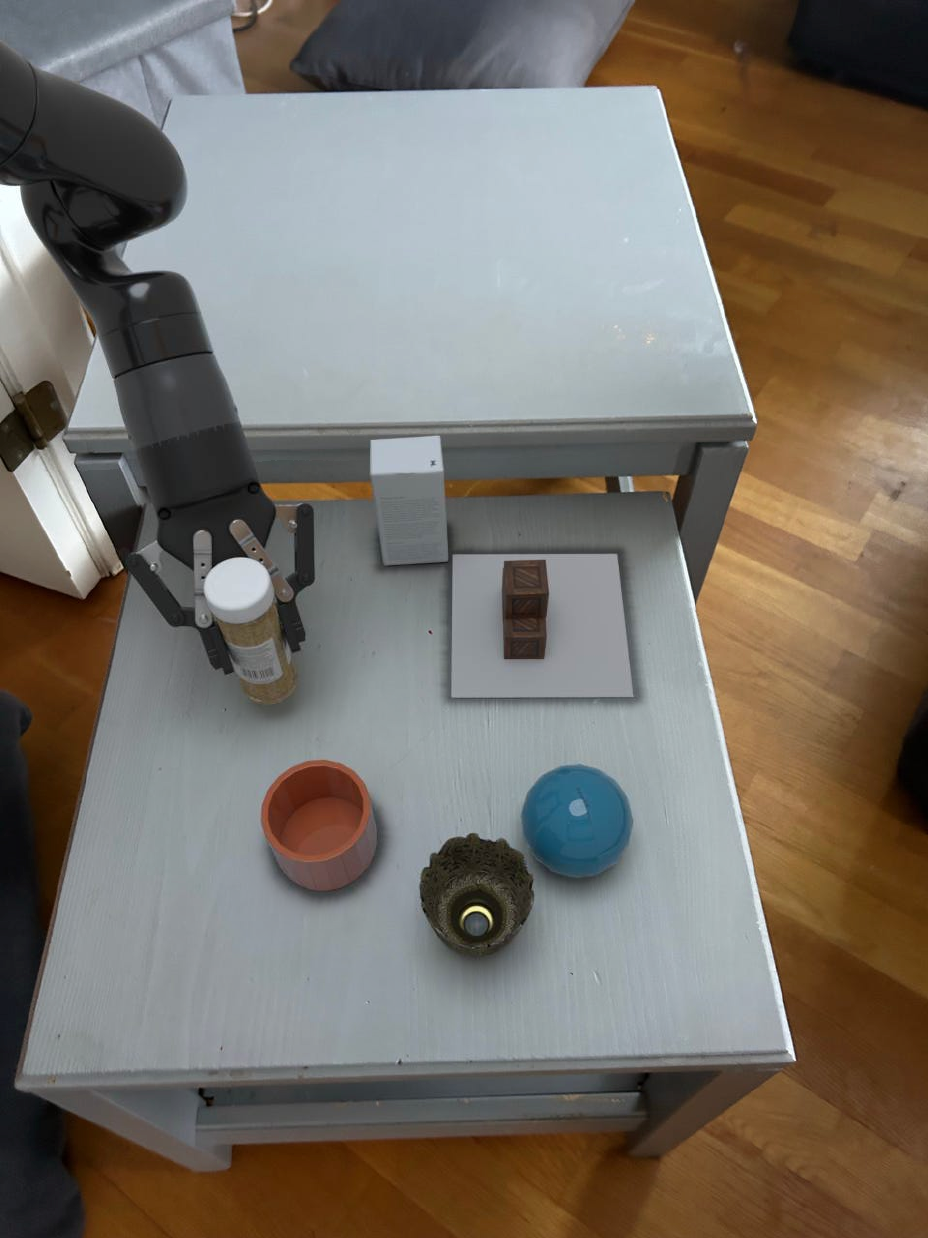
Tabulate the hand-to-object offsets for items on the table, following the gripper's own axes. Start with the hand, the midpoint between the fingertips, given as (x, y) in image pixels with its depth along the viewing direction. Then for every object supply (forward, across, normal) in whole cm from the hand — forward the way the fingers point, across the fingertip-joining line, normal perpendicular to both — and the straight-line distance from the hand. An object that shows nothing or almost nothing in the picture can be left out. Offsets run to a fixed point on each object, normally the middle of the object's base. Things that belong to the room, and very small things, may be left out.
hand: (262, 660), depth 69 cm
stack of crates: (+6, +23, +7) cm, 25 cm away
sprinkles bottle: (+3, 0, +6) cm, 7 cm away
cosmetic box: (-3, +16, +16) cm, 23 cm away
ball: (+19, +17, -6) cm, 27 cm away
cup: (+22, +8, -8) cm, 25 cm away
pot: (+14, 0, -2) cm, 14 cm away
